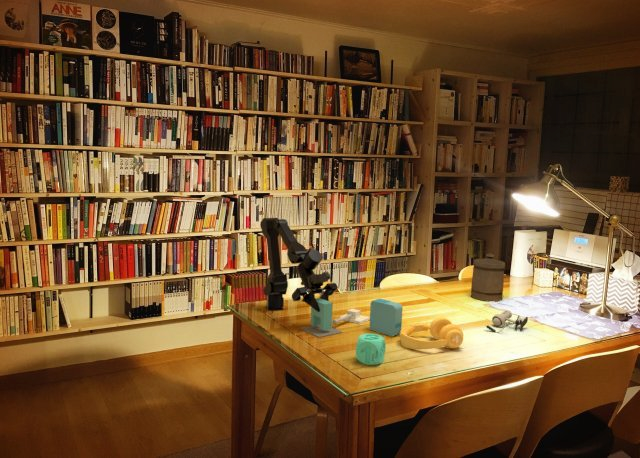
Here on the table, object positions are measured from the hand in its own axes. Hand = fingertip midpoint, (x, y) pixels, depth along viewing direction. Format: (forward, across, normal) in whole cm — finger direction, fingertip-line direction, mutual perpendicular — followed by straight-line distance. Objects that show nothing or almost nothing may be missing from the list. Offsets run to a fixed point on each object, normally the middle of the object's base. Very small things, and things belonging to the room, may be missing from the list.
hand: (323, 310), depth 209 cm
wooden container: (+6, +101, +6) cm, 101 cm away
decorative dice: (+28, -5, -17) cm, 33 cm away
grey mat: (+5, 0, +7) cm, 8 cm away
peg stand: (+3, +15, +9) cm, 18 cm away
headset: (+28, +25, -16) cm, 41 cm away
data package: (+15, +20, -3) cm, 25 cm away
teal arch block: (+4, 0, +6) cm, 7 cm away
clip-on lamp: (+31, +66, -19) cm, 75 cm away
